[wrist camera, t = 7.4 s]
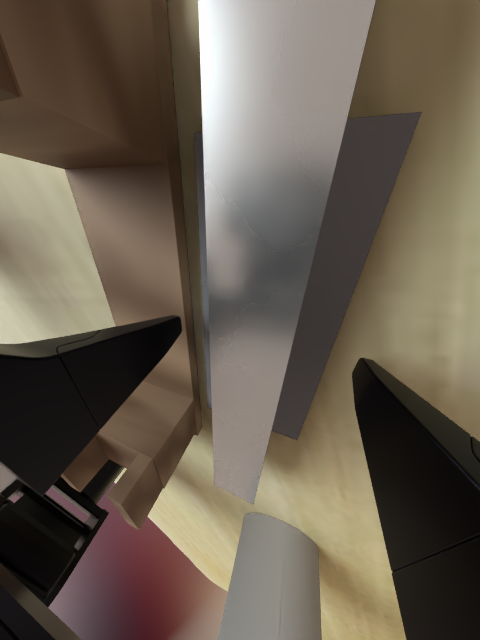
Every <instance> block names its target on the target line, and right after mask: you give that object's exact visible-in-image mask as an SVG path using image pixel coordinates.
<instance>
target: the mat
mask: <svg viewBox="0 0 480 640" xmlns="http://www.w3.org/2000/svg"><path fill="white" fill-rule="evenodd" d="M421 113H422V112H415V113H404V114H393V115H382V116H371V117H361V118H350V119H347V121H346V125H345V129H344V133H343V137H342V142H341V146H340V150H339V154H338V158H337V162H336V166H335V170H334V174H333V179H332V183H331V187H330V191H329V195H328V199H327V203H326V207H325V212H324V216H323V220H322V224H321V228H320V232H319V236H318V240H317V244H316V249H315V253H314V257H313V261H312V265H311V269H310V273H309V277H308V282H307V286H306V290H305V294H304V298H303V302H302V306H301V310H300V314H299V319H298V323H297V327H296V331H295V335H294V339H293V343H292V347H291V352H290V356H289V360H288V364H287V368H286V372H285V376H284V380H283V384H282V389H281V393H280V397H279V401H278V405H277V409H276V413H275V417H274V422H273V426H272V430H271V431H274V432H276V433H279V434H282V435H285V436H287V437H290V438H293V439H296V440H297V439H298V437H299V434H300V431H301V429H302V426H303V424H304V421H305V418H306V416H307V413H308V410H309V408H310V405H311V402H312V400H313V397H314V395H315V392H316V389H317V387H318V384H319V381H320V379H321V376H322V374H323V371H324V368H325V366H326V363H327V360H328V358H329V355H330V352H331V350H332V347H333V345H334V342H335V339H336V337H337V334H338V331H339V329H340V326H341V323H342V321H343V318H344V316H345V313H346V310H347V308H348V305H349V302H350V300H351V297H352V294H353V292H354V289H355V287H356V284H357V281H358V279H359V276H360V273H361V271H362V268H363V265H364V263H365V260H366V258H367V255H368V252H369V250H370V247H371V244H372V242H373V239H374V236H375V234H376V231H377V229H378V226H379V223H380V221H381V218H382V215H383V213H384V210H385V207H386V205H387V202H388V200H389V197H390V194H391V192H392V189H393V186H394V184H395V181H396V178H397V176H398V173H399V171H400V168H401V165H402V163H403V160H404V157H405V155H406V152H407V149H408V147H409V144H410V142H411V139H412V136H413V134H414V131H415V128H416V126H417V123H418V120H419V118H420V115H421ZM194 142H195V162H196V181H197V201H198V221H199V241H200V260H201V280H202V300H203V319H204V339H205V359H206V379H207V398H208V408H211V409H212V399H211V369H210V338H209V308H208V278H207V248H206V218H205V187H204V157H203V132H197V133H194Z"/></svg>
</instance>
